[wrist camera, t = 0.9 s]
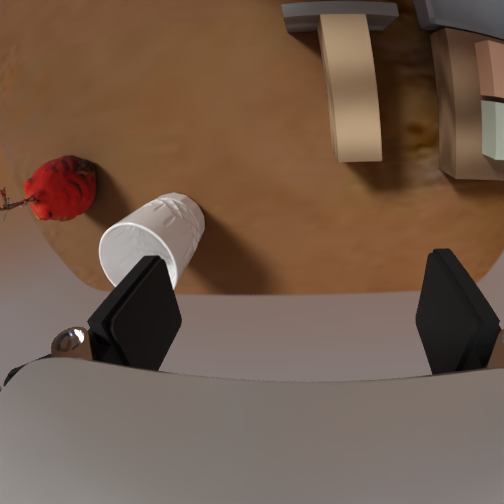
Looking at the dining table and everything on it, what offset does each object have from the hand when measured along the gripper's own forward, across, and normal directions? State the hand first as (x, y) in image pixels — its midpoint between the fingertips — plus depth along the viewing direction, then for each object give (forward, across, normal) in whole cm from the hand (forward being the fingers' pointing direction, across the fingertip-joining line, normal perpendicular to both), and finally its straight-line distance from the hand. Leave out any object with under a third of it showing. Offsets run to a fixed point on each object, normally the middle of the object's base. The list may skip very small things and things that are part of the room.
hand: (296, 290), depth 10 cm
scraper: (+21, -4, -7) cm, 23 cm away
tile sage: (+17, -20, -5) cm, 26 cm away
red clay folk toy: (+22, +26, -1) cm, 34 cm away
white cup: (+22, +14, +5) cm, 26 cm away
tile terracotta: (+17, -19, -10) cm, 28 cm away
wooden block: (+21, -20, -7) cm, 30 cm away
